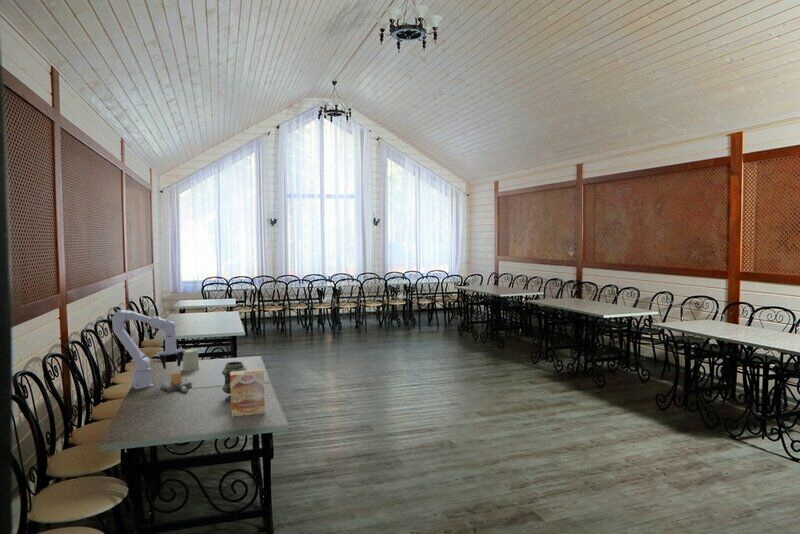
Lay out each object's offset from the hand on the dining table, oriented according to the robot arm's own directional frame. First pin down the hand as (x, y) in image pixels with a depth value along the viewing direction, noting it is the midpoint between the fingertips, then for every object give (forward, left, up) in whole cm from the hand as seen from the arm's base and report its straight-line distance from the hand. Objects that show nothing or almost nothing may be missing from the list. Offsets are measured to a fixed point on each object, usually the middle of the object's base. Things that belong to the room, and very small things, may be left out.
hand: (171, 367), depth 305 cm
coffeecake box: (+9, -74, -10) cm, 76 cm away
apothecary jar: (+14, -49, -10) cm, 52 cm away
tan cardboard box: (-1, -8, -9) cm, 13 cm away
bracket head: (-1, -12, -9) cm, 15 cm away
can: (+19, +25, -10) cm, 33 cm away
